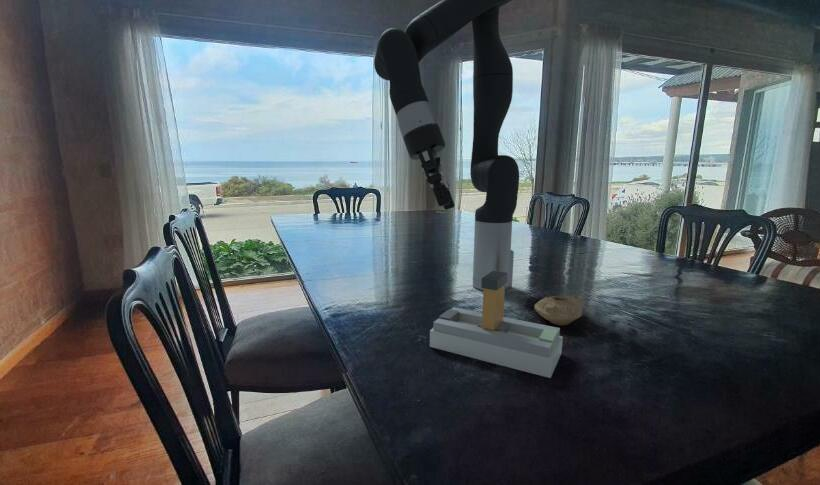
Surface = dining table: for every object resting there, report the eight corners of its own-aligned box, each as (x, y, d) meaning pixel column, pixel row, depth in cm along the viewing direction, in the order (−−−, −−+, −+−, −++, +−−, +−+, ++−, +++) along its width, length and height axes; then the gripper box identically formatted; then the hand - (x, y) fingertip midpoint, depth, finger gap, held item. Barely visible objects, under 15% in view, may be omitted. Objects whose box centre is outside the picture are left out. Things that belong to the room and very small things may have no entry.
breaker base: (429, 346, 67) (430, 320, 66) (451, 328, 75) (452, 304, 74) (550, 378, 57) (552, 347, 56) (561, 353, 65) (563, 326, 64)
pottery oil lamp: (599, 316, 80) (606, 292, 76) (559, 346, 76) (564, 323, 71) (564, 292, 86) (569, 268, 82) (525, 318, 82) (528, 295, 77)
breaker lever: (475, 334, 65) (477, 277, 63) (486, 323, 69) (488, 270, 67) (498, 340, 63) (501, 281, 61) (508, 328, 67) (511, 273, 65)
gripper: (432, 112, 70) (463, 196, 69) (442, 132, 84) (468, 203, 83) (394, 128, 72) (423, 211, 71) (410, 146, 86) (435, 215, 85)
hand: (447, 206), depth 77 cm, fingers open, 8 cm apart
